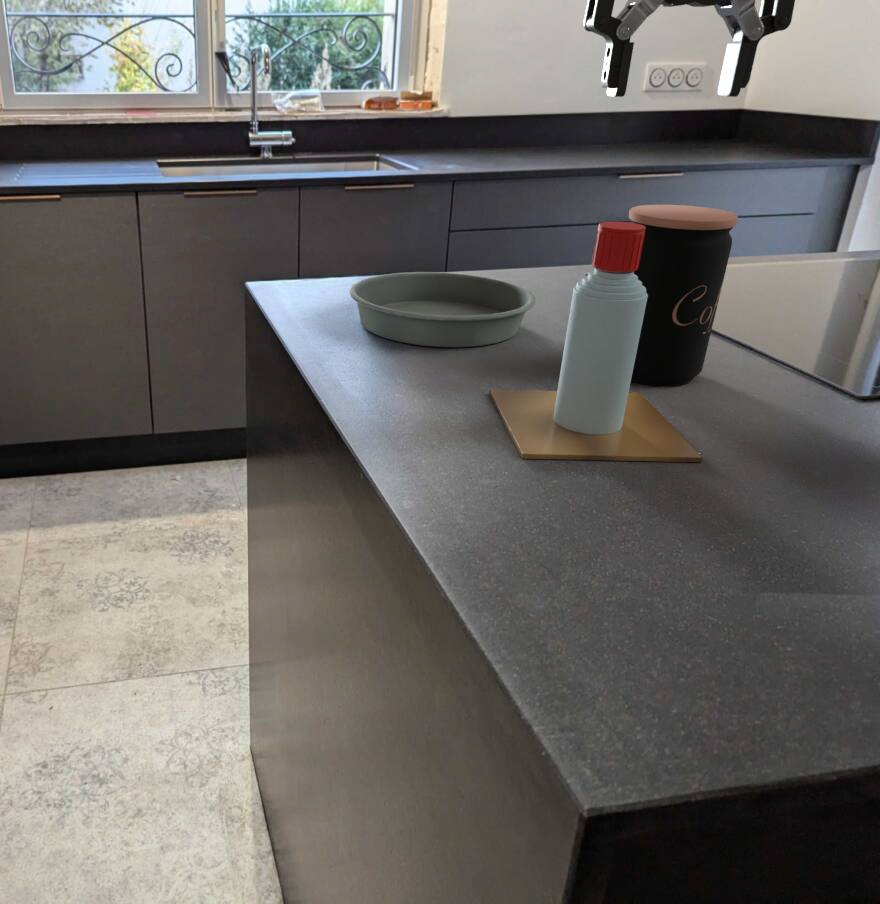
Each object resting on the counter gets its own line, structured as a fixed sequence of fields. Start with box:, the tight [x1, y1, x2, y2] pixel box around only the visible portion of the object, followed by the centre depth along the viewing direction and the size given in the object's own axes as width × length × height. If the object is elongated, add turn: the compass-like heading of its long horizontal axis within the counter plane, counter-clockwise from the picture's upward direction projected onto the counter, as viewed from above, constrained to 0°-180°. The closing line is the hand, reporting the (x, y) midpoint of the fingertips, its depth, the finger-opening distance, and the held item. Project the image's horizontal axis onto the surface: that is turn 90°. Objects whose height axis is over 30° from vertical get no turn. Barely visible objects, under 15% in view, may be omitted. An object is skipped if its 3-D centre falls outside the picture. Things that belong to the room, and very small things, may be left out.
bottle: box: [553, 268, 648, 435], centre depth 77 cm, size 6×6×18 cm
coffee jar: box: [628, 204, 739, 387], centre depth 91 cm, size 11×11×18 cm
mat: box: [488, 389, 703, 463], centre depth 81 cm, size 16×16×1 cm
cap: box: [591, 221, 646, 272], centre depth 74 cm, size 4×4×4 cm
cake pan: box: [348, 271, 537, 348], centre depth 111 cm, size 25×25×4 cm
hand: (671, 96), depth 63 cm, fingers open, 8 cm apart
